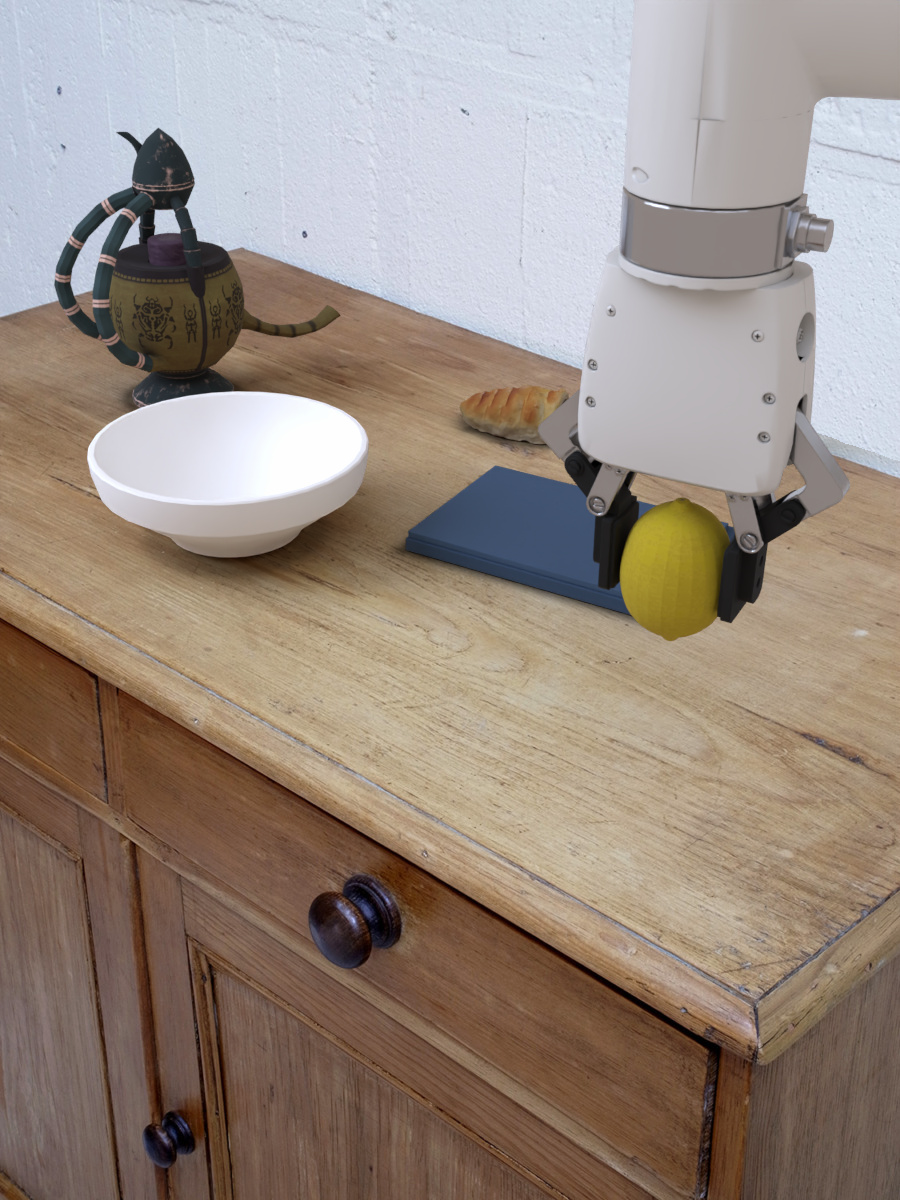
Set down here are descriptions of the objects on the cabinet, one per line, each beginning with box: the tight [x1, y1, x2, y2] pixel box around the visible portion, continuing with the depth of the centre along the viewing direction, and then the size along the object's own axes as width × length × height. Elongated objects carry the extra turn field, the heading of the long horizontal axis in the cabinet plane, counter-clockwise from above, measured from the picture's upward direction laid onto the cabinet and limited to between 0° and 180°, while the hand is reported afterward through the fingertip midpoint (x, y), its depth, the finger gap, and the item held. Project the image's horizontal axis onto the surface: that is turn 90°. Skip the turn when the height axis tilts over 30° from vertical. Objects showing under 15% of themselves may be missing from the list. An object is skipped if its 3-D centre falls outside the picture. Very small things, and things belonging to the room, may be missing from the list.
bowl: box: [86, 390, 370, 558], centre depth 94 cm, size 20×20×7 cm
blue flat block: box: [405, 465, 735, 616], centre depth 95 cm, size 20×14×2 cm
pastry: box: [459, 384, 570, 445], centre depth 113 cm, size 9×7×4 cm
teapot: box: [53, 127, 341, 408], centre depth 115 cm, size 12×25×23 cm, turn 124°
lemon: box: [620, 497, 730, 642], centre depth 65 cm, size 6×6×8 cm
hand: (674, 589), depth 66 cm, fingers closed on lemon, 5 cm apart
